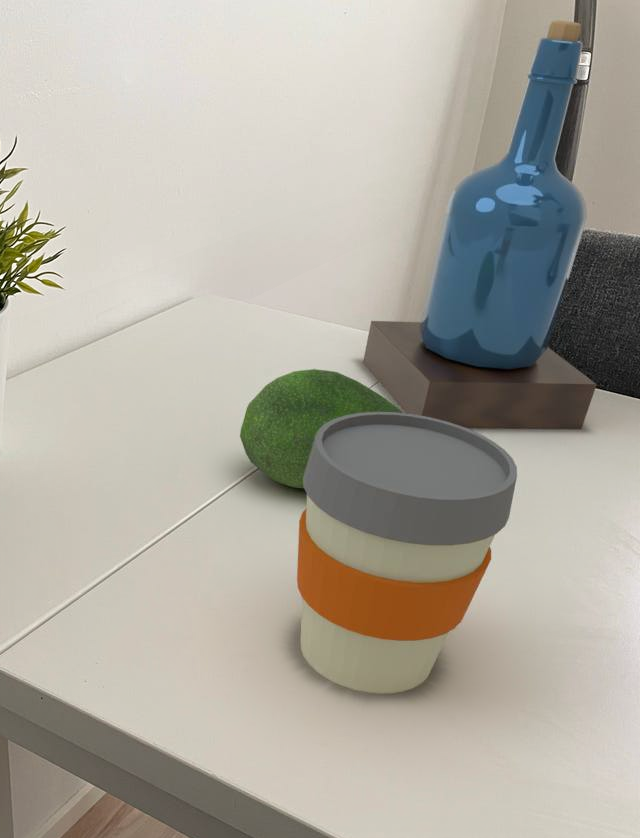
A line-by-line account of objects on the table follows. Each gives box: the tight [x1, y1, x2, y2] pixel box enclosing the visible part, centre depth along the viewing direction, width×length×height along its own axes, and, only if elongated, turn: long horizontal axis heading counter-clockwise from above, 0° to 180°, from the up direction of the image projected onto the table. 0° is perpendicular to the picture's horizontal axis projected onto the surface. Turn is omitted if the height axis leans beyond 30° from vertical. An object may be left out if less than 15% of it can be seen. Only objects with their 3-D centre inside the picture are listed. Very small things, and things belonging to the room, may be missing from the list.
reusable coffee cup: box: [296, 412, 518, 695], centre depth 64 cm, size 13×13×15 cm
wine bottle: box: [419, 20, 588, 369], centre depth 98 cm, size 14×13×30 cm
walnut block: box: [362, 320, 598, 430], centre depth 108 cm, size 18×18×5 cm
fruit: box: [239, 368, 404, 489], centre depth 86 cm, size 15×10×10 cm, turn 81°
